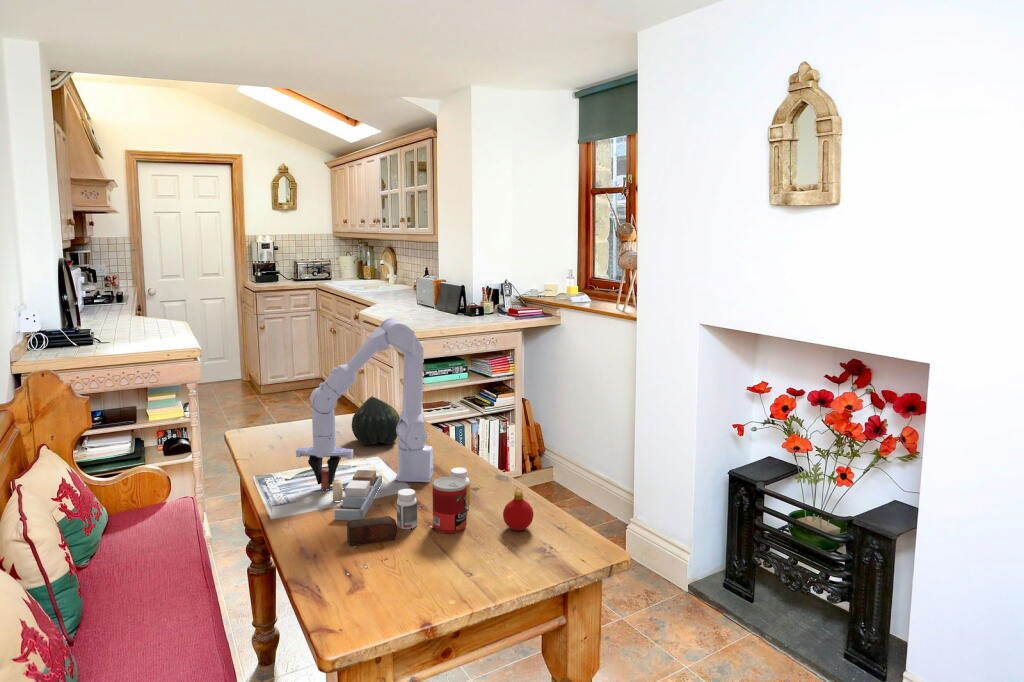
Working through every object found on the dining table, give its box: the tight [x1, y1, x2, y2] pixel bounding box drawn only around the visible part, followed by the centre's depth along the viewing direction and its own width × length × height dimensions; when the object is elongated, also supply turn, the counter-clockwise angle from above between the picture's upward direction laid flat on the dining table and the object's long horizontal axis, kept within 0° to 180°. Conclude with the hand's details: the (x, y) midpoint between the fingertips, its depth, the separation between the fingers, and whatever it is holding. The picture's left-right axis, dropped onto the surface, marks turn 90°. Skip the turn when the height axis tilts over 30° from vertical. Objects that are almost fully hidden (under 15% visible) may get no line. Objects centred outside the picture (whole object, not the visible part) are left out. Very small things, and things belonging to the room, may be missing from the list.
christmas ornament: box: [502, 487, 534, 531], centre depth 166 cm, size 7×7×10 cm
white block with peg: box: [332, 479, 370, 502], centre depth 181 cm, size 9×5×5 cm, turn 88°
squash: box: [351, 396, 400, 446], centre depth 225 cm, size 14×15×15 cm
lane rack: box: [334, 475, 383, 521], centre depth 181 cm, size 7×22×2 cm, turn 178°
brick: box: [346, 515, 398, 547], centre depth 160 cm, size 11×4×5 cm, turn 112°
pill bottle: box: [396, 488, 418, 530], centre depth 167 cm, size 5×5×8 cm
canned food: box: [432, 476, 468, 534], centre depth 167 cm, size 8×8×11 cm
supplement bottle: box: [450, 467, 471, 510], centre depth 178 cm, size 5×5×10 cm
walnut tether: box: [320, 468, 377, 491], centre depth 188 cm, size 14×5×5 cm, turn 88°
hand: (325, 483), depth 188 cm, fingers closed on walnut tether, 2 cm apart
